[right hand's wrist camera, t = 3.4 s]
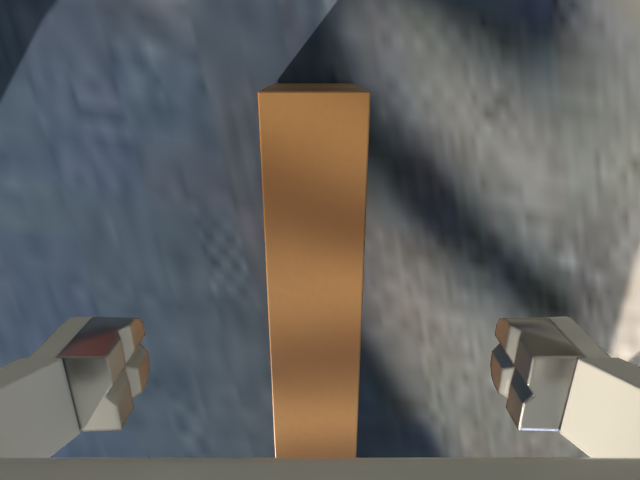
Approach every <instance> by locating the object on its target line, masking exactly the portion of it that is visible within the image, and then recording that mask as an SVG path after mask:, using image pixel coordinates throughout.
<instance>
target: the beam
mask: <svg viewBox="0 0 640 480" xmlns="http://www.w3.org/2000/svg"><path fill="white" fill-rule="evenodd" d="M258 107H259V128H260V149H261V170H262V191H263V212H264V234H265V255H266V276H267V297H268V318H269V339H270V360H271V381H272V402H273V423H274V444H275V458H356V452H357V427H358V401H359V375H360V349H361V323H362V298H363V272H364V246H365V220H366V195H367V169H368V143H369V117H370V91H368V90H366V89H364V88H362V87H360V86H358V85H356V84H354V83H275V84H273V85H271V86H269V87H267V88H265V89H263V90H261V91H259V92H258Z"/></svg>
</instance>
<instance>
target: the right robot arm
mask: <svg viewBox="0 0 640 480" xmlns="http://www.w3.org/2000/svg"><path fill="white" fill-rule="evenodd" d="M144 336H145V331H144V327H143V322H142V321H141V320H140V319H139V318H122V317H72V318H68V319H67V320H66V321H65V322H64V323H63V324H62V325H61V326H60V327H59V328H58V329H57V330H56V331H55V332H54V333H53V334H52V335H51V336H50V337H49V338H48V339H47V340H46V341H45V342H44V343H43V344H42V345H41V346H40V347H39V348H38V349H37V350H36V351H35V352H34V353H33V354H32V355H31V356H30V357H29V358H20V359H18V360H16V361H13V362H11V363H9V364H7V365H4V366H2V367H0V480H640V367H638V366H636V365H633V364H631V363H629V362H627V361H624V360H622V359H620V358H611V357H610V356H609V355H608V354H607V353H606V352H605V351H604V350H603V349H602V348H601V347H600V346H599V345H598V344H597V343H596V342H595V341H594V340H593V339H592V338H591V337H590V336H589V335H588V334H587V333H586V332H585V331H584V330H583V329H582V328H581V327H580V326H579V325H578V324H577V323H576V322H575V321H574V320H573V319H572V318H569V317H536V318H502V319H499V321H498V323H497V325H496V331H495V336H496V337H497V339H498V341H499V342H500V344H499V345H498V346H497V347H496V348H495V349H494V350H493V351H492V356H491V364H490V365H491V376H492V379H493V383H494V385H495V387H496V389H497V391H498V393H499V394H501V395H502V396H504V397H505V398H507V405H506V408H507V410H508V412H509V413H510V415H511V417H512V419H513V421H514V423H515V424H516V426H517V428H518V430H532V431H560V434H561V435H563V436H564V437H565V438H566V439H568V440H569V441H570V442H572V443H573V444H574V445H575V446H577V447H578V448H579V449H581V450H582V451H583V452H584V453H586V454H587V455H588V456H589V457H591V458H49V457H51V456H52V455H53V454H55V453H56V452H57V451H58V450H60V449H61V448H62V447H63V446H65V445H66V444H67V443H69V442H70V441H71V440H72V439H74V438H75V437H76V436H78V435H79V434H80V431H107V430H122V428H123V426H124V424H125V423H126V421H127V419H128V417H129V415H130V414H131V412H132V410H133V408H134V405H133V398H135V397H136V396H138V395H139V394H141V393H142V391H143V389H144V387H145V385H146V383H147V379H148V374H149V355H148V351H147V350H146V349H145V348H144V347H143V346H142V345H141V344H140V342H141V341H142V339H143V337H144Z"/></svg>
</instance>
